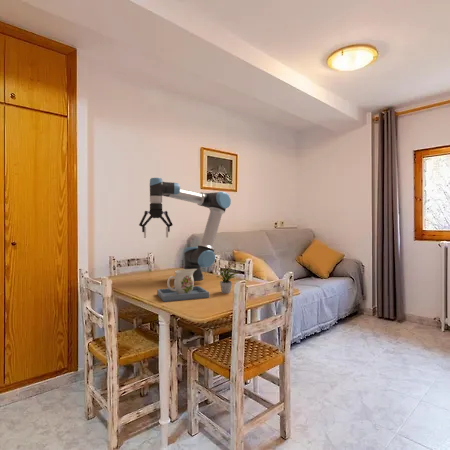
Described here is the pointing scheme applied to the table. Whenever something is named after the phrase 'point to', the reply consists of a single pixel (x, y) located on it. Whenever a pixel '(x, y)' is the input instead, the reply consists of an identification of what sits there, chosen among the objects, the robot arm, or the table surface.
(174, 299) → the tray
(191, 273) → the pitcher
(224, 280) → the house plant
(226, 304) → the table surface
